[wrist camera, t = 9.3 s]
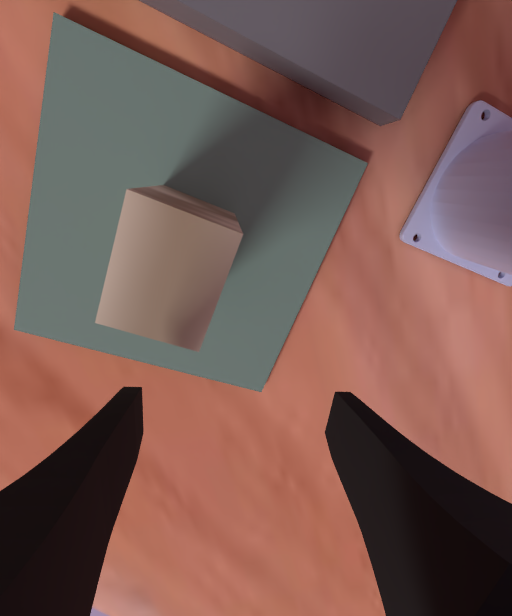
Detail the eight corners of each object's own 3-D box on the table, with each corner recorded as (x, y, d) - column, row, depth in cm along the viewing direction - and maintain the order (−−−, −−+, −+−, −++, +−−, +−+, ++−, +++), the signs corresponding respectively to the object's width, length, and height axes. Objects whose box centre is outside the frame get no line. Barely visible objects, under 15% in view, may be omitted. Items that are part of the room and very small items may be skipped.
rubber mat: (363, 163, 18) (367, 163, 17) (260, 386, 23) (261, 392, 22) (60, 19, 14) (54, 12, 13) (20, 325, 19) (13, 329, 18)
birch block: (234, 213, 17) (243, 234, 11) (206, 292, 19) (198, 352, 12) (163, 184, 16) (126, 189, 10) (139, 271, 18) (95, 322, 11)
